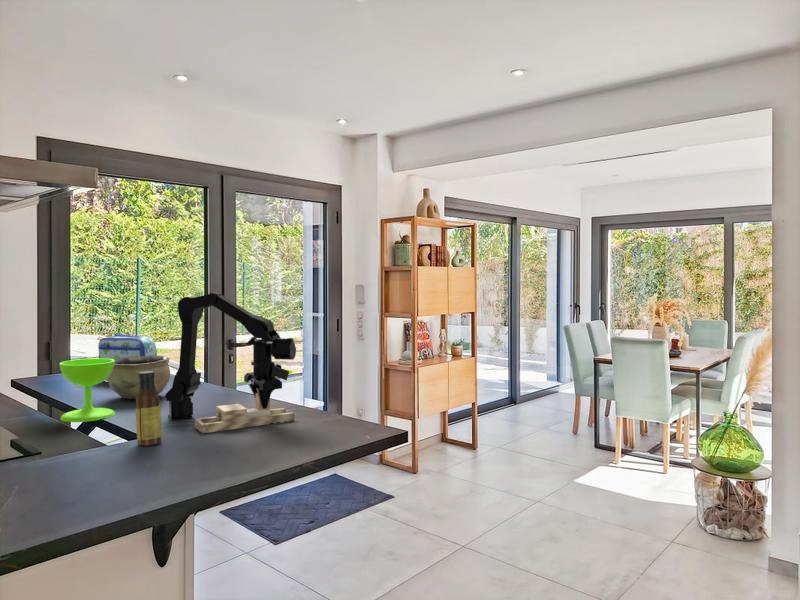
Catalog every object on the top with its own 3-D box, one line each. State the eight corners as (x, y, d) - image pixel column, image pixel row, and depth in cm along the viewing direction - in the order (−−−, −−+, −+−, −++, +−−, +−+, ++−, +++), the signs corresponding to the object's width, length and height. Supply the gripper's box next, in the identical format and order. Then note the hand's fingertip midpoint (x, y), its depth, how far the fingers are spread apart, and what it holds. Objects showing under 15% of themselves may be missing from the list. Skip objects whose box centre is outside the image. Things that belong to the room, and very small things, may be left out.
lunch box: (94, 382, 249) (93, 334, 248) (114, 378, 259) (114, 332, 258) (140, 386, 240) (140, 337, 239) (159, 382, 250) (159, 334, 249)
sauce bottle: (166, 441, 159) (166, 370, 159) (150, 447, 154) (149, 374, 153) (147, 439, 162) (147, 369, 161) (130, 445, 156) (130, 372, 155)
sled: (225, 424, 174) (225, 398, 174) (221, 421, 178) (221, 396, 177) (270, 418, 182) (270, 393, 182) (265, 415, 185) (265, 391, 185)
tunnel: (201, 433, 168) (201, 414, 168) (194, 427, 175) (194, 408, 175) (294, 420, 184) (294, 403, 184) (284, 415, 191) (284, 398, 191)
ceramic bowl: (176, 400, 214) (176, 360, 213) (112, 407, 202) (111, 364, 201) (163, 390, 232) (163, 353, 232) (103, 396, 220) (103, 357, 220)
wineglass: (110, 420, 183) (109, 364, 182) (53, 423, 178) (52, 366, 178) (119, 409, 198) (119, 357, 198) (67, 412, 194) (66, 359, 193)
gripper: (297, 360, 179) (297, 410, 179) (275, 353, 194) (275, 399, 195) (263, 363, 173) (263, 414, 173) (243, 356, 188) (243, 403, 189)
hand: (262, 407), depth 183 cm, fingers closed on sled, 3 cm apart
